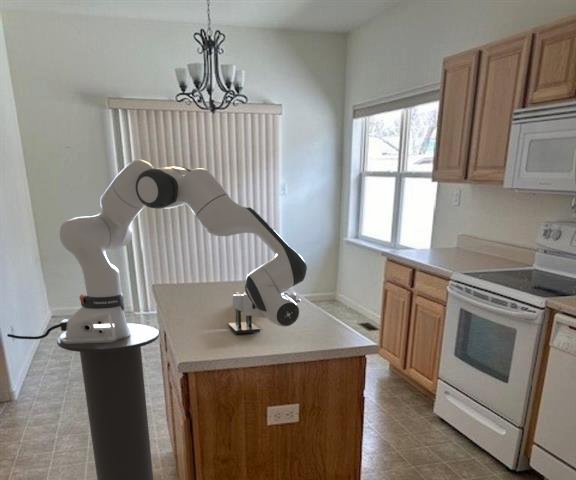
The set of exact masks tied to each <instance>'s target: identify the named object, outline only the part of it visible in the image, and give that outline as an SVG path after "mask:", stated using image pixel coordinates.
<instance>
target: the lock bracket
mask: <svg viewBox="0 0 576 480" xmlns="http://www.w3.org/2000/svg"><path fill="white" fill-rule="evenodd" d="M240 293H241V292H239V291H234V294H240ZM234 310H235V322H228V324H227V326H228V327H229V328H230V330H231V331H232V332H234V333H235V335H241V334H253V333H261V328H260V327H258V326H257V325H256V324H254V322H253V321H252V320H253V316H248V315H245V321H242V311H239V310H238V309H236V308H235V307H234Z"/></svg>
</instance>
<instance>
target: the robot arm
mask: <svg viewBox="0 0 576 480" xmlns="http://www.w3.org/2000/svg"><path fill="white" fill-rule="evenodd" d="M99 203H100V208H101V212H100V213H97V214H96V215H92V216H90V215H89V216H77V217H73V218H70V219H68V220H66V221H63V222H62V224H61V225H60V228H59V240H60V243H61V244H62V246H63V247H64V249H66V250H67V251H68V252H69V253H71V254H72V256H74V257H75V259H76V260H77V262H78V264H79V265H80V268H81V270H82V274H83V279H84V285H85V292H86V294H80V295H79V300H80V305H81V307H80V308H79V309H78V310H76V311H75V312H74V313H72V315H71V316H70V317H69V318H64V319H62V320H61V321H60V322H59V324H55V325H53V326H51V327H49V328H48V329H47V330H46V331H45V333H44V334H42V335H36V336H30V335H29V336H27V335H26V336H25V335H15V334H11V333H8V334H7V335H6V337H8V338H13V339H16V340H17V339H18V340H40V339H41V340H42V339H44V338H46V337H48V336H49V334H50V333H51V331H53V330H55V329H57V328H60V330H61V332H62V333H61V334H60V335H61V336H60V335H59V336H60V340H61V342H62V343H65V344H78V343H107V342H114V341H116V340H118V339H122V338H125V337H127V336H129V335H130V334H131V332H130V330H129V328H128V325H127V324H128V322H127V318H126V313H125V308H126V306H125V297H124V294H123V292H122V286H121V285H122V284H121V283H122V282H121V274H120V270H119V268H118V267H117V266H115V265H114V264H112V263H111V262H110V261H109V259H108V256H107V252H108V251H115V250H118V249H122V248H123V247H125V246H127V245H129V244H130V242H131V241H132V237H133V231H132V226H131V225H132V223H133V221H134V220H135V219H136V217H137V216H138V215H139V214H140V213H141V211H142V210H143V209H144V208H145V207H147V208H150V209H154V210H162V209H173V208H178V207H181V206H186V205H187V207H189V209H190V210H191V212H192V213H193V215H194V216H195V218H196V219H197V220H198V222H199V223H200V224H201V226H202V227H203V228H204V230H205V231H206V232H208V233H209V234H210V235H213V236H216V237H230V236H234V235H239V234H240V235H241V234H253V235H255V236H257V237H258V238H259V239H260V240H261V241H262V242H263V243H264V244H265V245H266V246H267V247H268V248H269V250H270V251H272V252H273V254H274V255H275V256H274V257H273V258H271V259H270V260H269V261H267V262H265V263H264V264H262V265H261V266H258V267H257V268H255V269H254V270H252V271H251V272H250V273H249V274H247V275H246V277H245V282H244V291H245V290H246V293H245V292H244V293H245V294H235V293H234V294H232V306H233V307H234V309H235V308H236V309H238V310H239V311H241V313H243V315H244V316H246V315H248V316H252V317H260V318H265V319H268V320H269V321H270V322H271V323H273V324H274V325H276V326H279V327H289V326H292V325H294V324H295V323H296V322H297V320H298V319H299V317H300V316H299V315H300V308H299V306H298V303H301V302H302V300H301V298H300V297H297V293H295V292H294V291H293V290H289V289H291V288H292V287H295V286H296V285H298V284H300V283H302V282H303V281H304V280H305V278H306V276H307V270H308V267H307V264H306V262H305V259H303V257H302V256H301V255H300V254H299V253H298V252H297V251H296V250H295V249H294V248H292V247H291V246H290V245H289V244H288V243H287V242H286V241H285V240H284V239H283V238H282V236H280V235H279V234H278V232H276V230H275V229H274V228H273V227H272V226H271V225H270V224H269V223H268V222H267V221H266V220H265V219H264V218H263V217H262V216H261V214H259V213H258V212H257V211H255V209H253V208H252V207H250V206H243V205H240V204H238V203H237V202H235V200H233V199H232V198H231V196H230V195H229V194H228V192H227V191H226V189H225V188H224V187H223V185H222V184H221V183H220V182H219V181H218V179H217V178H216V177H215V176H214V175H213V174H212V173H211V172H210V171H209V170H208V169H206V168H202V167H198V168H193V169H191V168H188V167H186V166H164V167H163V166H162V167H158V168H155V167H154V166H153V165H152V164H151V163H149V162H148V161H146V160H145V159H144V160H143V159H134V160H131V162H129V163H128V164H127V165H126V166H124V167H123V169H121V171H120V172H119V173H117V175H116V176H115V178H114V179H113V180H112V182H111V183H110V184H109V186H107V188H106V189H105V191H104V192H103V194H102V195H101V196H100V199H99Z"/></svg>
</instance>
